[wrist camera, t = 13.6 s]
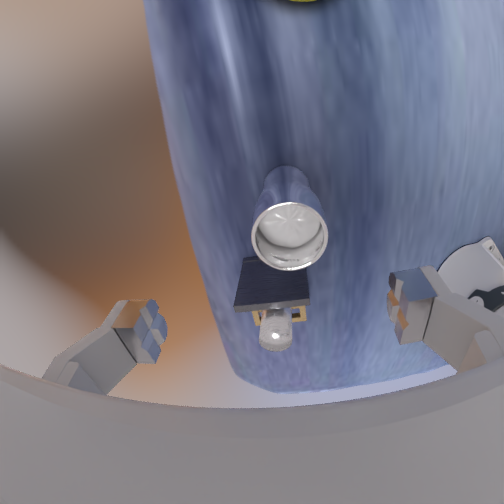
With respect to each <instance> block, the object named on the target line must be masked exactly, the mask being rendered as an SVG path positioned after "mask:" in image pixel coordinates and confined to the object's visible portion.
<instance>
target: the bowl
mask: <svg viewBox="0 0 504 504" xmlns="http://www.w3.org/2000/svg"><path fill="white" fill-rule="evenodd" d="M290 1H299V2H308V1H315V0H290Z"/></svg>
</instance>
